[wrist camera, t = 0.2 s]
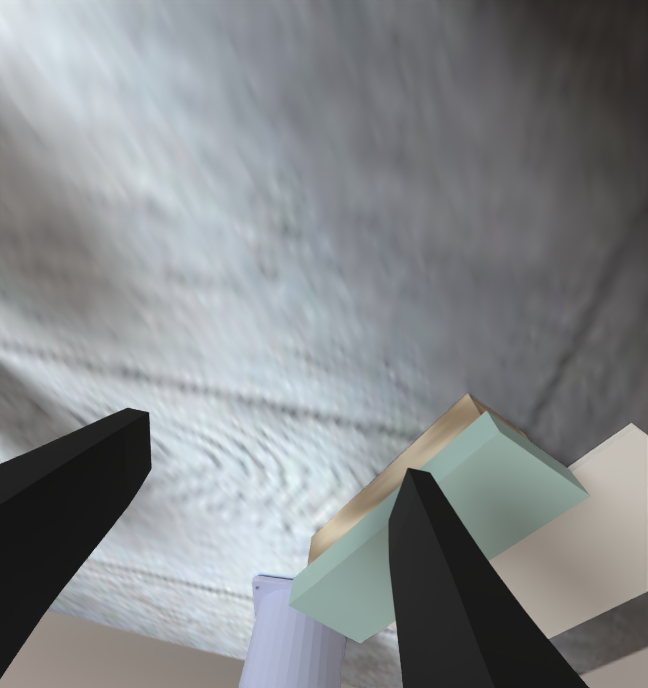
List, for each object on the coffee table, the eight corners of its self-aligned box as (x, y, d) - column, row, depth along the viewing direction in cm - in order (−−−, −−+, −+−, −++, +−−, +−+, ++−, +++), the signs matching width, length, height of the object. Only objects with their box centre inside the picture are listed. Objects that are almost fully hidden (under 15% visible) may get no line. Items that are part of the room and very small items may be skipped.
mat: (474, 667, 29) (475, 673, 29) (366, 608, 27) (366, 613, 27) (764, 525, 20) (771, 531, 20) (631, 422, 18) (637, 427, 18)
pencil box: (358, 563, 25) (358, 625, 22) (311, 536, 25) (303, 595, 21) (524, 433, 19) (562, 486, 16) (467, 392, 19) (494, 438, 15)
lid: (360, 615, 23) (359, 643, 21) (293, 578, 22) (288, 605, 20) (569, 469, 16) (590, 495, 15) (486, 410, 16) (499, 431, 14)
